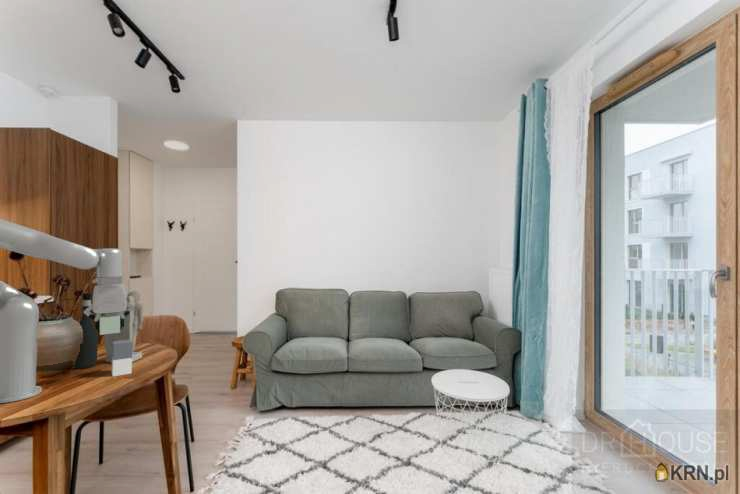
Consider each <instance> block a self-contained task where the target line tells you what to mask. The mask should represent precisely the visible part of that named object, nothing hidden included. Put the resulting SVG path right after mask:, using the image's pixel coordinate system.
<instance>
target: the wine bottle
mask: <svg viewBox="0 0 740 494" xmlns="http://www.w3.org/2000/svg"><path fill="white" fill-rule="evenodd" d="M81 295H82V313H81V318H80V322H79V323H78V325H79V324H80V325H81V326H82V329H83V344H82V343H81V344H80V352H79V354H78V356H77V359H76V361H75V363H74V365H73V366H72V368H73V369H76V370H79V369H88V368H93V367H95V366H96V365H97V364H98V341H99V339H98V330H95V323H94V321H93V319H91V318H90V317H89V316H87V315H86V314H84V313H83V312H84V311H85V310H86V309H87V308H88V307H89V306H90V305H91V304H92V298H93V294H92V292H83V293H82V294H81ZM90 313H92V309H91V310H90Z"/></svg>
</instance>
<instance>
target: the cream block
mask: <svg viewBox="0 0 740 494" xmlns="http://www.w3.org/2000/svg"><path fill="white" fill-rule="evenodd" d="M132 369H133V362H132V358H127V359H119V360H113V358H112V362H111V375H112V377H117V376H124V375H129V374H132V373H133V371H132Z"/></svg>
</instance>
